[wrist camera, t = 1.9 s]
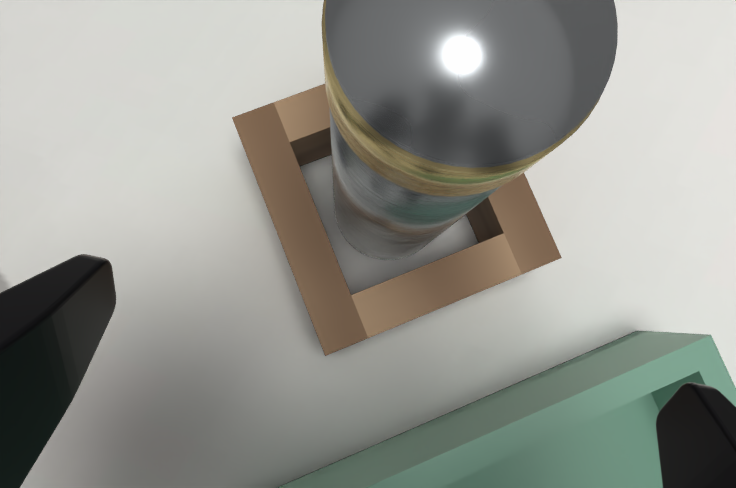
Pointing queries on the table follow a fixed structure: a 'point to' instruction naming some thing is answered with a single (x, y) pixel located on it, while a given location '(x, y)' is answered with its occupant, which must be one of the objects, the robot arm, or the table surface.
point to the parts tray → (548, 425)
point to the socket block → (317, 259)
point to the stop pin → (451, 104)
